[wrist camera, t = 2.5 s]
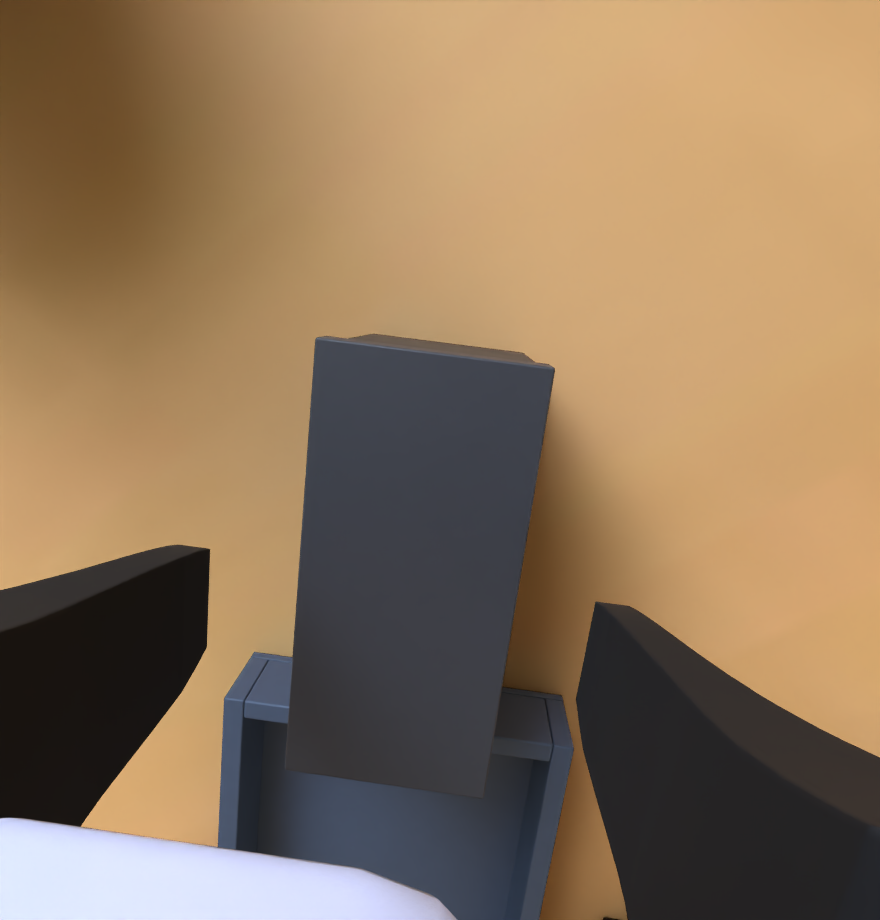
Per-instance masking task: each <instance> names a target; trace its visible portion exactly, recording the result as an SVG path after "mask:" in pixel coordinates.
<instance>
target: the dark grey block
mask: <svg viewBox="0 0 880 920" xmlns="http://www.w3.org/2000/svg"><path fill="white" fill-rule="evenodd" d="M554 373H555V369H554V368H553V367H552V366H550V365H549V364H543V363H535V362H534V361H533V360H531V359H530V358H529V357H528V356H526V355H525V354H524V353H520V352H512V351H504V350H496V349H488V348H481V347H473V346H465V345H457V344H449V343H441V342H433V341H426V340H418V339H410V338H402V337H394V336H386V335H378V334H370V335H364V336H359V337H353V338H348V339H347V338H339V337H331V336H323V337H317V338H316V339H315V352H314V366H313V380H312V394H311V408H310V422H309V436H308V450H307V464H306V478H305V491H304V505H303V519H302V533H301V547H300V561H299V575H298V589H297V603H296V617H295V631H294V645H293V659H292V673H291V687H290V700H289V714H288V728H287V742H286V756H285V770H289V771H295V772H302V773H309V774H316V775H323V776H330V777H336V778H343V779H350V780H357V781H364V782H371V783H377V784H384V785H391V786H398V787H405V788H412V789H419V790H425V791H432V792H439V793H446V794H453V795H460V796H466V797H473V798H480V799H482V798H483V797H484V793H485V787H486V781H487V775H488V769H489V763H490V757H491V751H492V745H493V739H494V733H495V727H496V721H497V715H498V709H499V703H500V697H501V691H502V685H503V679H504V673H505V667H506V661H507V655H508V649H509V643H510V637H511V631H512V625H513V619H514V613H515V607H516V601H517V595H518V589H519V583H520V577H521V571H522V565H523V559H524V553H525V547H526V541H527V535H528V529H529V523H530V517H531V511H532V505H533V499H534V493H535V487H536V481H537V475H538V469H539V463H540V457H541V451H542V445H543V439H544V433H545V427H546V421H547V415H548V409H549V403H550V397H551V391H552V385H553V379H554Z"/></svg>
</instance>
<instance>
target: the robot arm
mask: <svg viewBox="0 0 880 920" xmlns="http://www.w3.org/2000/svg"><path fill="white" fill-rule="evenodd" d="M209 563H210V549H206V548H199V547H191V546H184V545H171V546H165V547H160V548H156V549H152V550H148V551H144V552H140V553H137V554H133V555H129V556H126V557H122V558H119V559H116V560H112V561H109V562H105V563H102V564H98V565H95V566H92V567H88V568H85V569H81V570H78V571H74V572H70V573H66V574H63V575H59V576H55V577H51V578H47V579H44V580H40V581H36V582H32V583H28V584H24V585H21V586H17V587H12V588H8V589H4V590H0V920H457V919H456V918H455V917H454V916H453V915H452V913H451V912H450V911H449V910H448V909H447V908H446V907H445V906H444V905H443V904H442V903H441V902H440V901H439V899H437V898H436V897H434V896H432V895H430V894H428V893H426V892H423V891H420V890H418V889H415V888H412V887H410V886H407V885H404V884H402V883H399V882H396V881H394V880H391V879H388V878H386V877H383V876H380V875H378V874H375V873H372V872H370V871H367V870H364V869H362V868H356V867H349V866H342V865H336V864H329V863H322V862H315V861H309V860H302V859H295V858H288V857H282V856H275V855H268V854H261V853H254V852H248V851H241V850H234V849H227V848H221V847H214V846H207V845H200V844H193V843H187V842H180V841H173V840H166V839H160V838H153V837H146V836H139V835H133V834H126V833H119V832H112V831H105V830H99V829H92V828H85V827H81V825H82V823H83V822H84V820H85V819H86V818H87V816H88V815H89V813H90V812H91V811H92V809H93V808H94V806H95V805H96V803H97V802H98V801H99V799H100V798H101V796H102V795H103V794H104V793H105V791H106V790H107V789H108V787H109V786H110V785H111V783H112V782H113V781H114V780H115V778H116V777H117V776H118V774H119V773H120V772H121V771H122V769H123V768H124V767H125V765H126V764H127V763H128V762H129V760H130V759H131V758H132V756H133V755H134V754H135V753H136V751H137V750H138V749H139V747H140V746H141V745H142V744H143V742H144V741H145V740H146V738H147V737H148V736H149V734H150V733H151V732H152V731H153V729H154V728H155V727H156V725H157V724H158V723H159V721H160V720H161V719H162V718H163V716H164V715H165V714H166V712H167V711H168V710H169V708H170V707H171V706H172V704H173V703H174V702H175V700H176V699H177V698H178V696H179V695H180V694H181V692H182V691H183V689H184V687H185V685H186V684H187V682H188V680H189V679H190V677H191V675H192V673H193V672H194V670H195V668H196V666H197V664H198V663H199V661H200V659H201V657H202V655H203V653H204V651H205V650H206V648H207V623H208V593H209ZM576 703H577V711H578V719H579V727H580V733H581V740H582V746H583V751H584V755H585V759H586V763H587V766H588V770H589V773H590V777H591V780H592V784H593V788H594V791H595V795H596V798H597V802H598V805H599V809H600V812H601V816H602V819H603V823H604V826H605V830H606V833H607V837H608V840H609V844H610V847H611V850H612V854H613V857H614V861H615V864H616V868H617V872H618V876H619V880H620V884H621V888H622V892H623V896H624V901H625V906H626V911H627V917H628V920H880V757H877V756H875V755H873V754H871V753H869V752H867V751H864V750H862V749H860V748H858V747H856V746H854V745H852V744H849V743H847V742H845V741H843V740H841V739H839V738H837V737H835V736H833V735H831V734H829V733H827V732H825V731H823V730H821V729H819V728H817V727H815V726H814V725H812V724H810V723H808V722H806V721H805V720H803V719H801V718H799V717H797V716H796V715H794V714H792V713H790V712H788V711H786V710H785V709H783V708H781V707H779V706H777V705H776V704H774V703H772V702H771V701H769V700H767V699H766V698H764V697H762V696H761V695H759V694H757V693H756V692H754V691H753V690H751V689H750V688H748V687H747V686H745V685H744V684H742V683H740V682H739V681H737V680H736V679H734V678H733V677H731V676H730V675H728V674H727V673H725V672H724V671H722V670H721V669H719V668H718V667H716V666H715V665H713V664H712V663H710V662H709V661H708V660H706V659H705V658H703V657H702V656H701V655H699V654H698V653H696V652H695V651H694V650H692V649H691V648H689V647H688V646H687V645H685V644H684V643H683V642H681V641H680V640H679V639H677V638H676V637H674V636H673V635H672V634H670V633H669V632H668V631H666V630H665V629H663V628H662V627H661V626H659V625H658V624H657V623H655V622H654V621H652V620H651V619H650V618H648V617H647V616H645V615H644V614H642V613H641V612H639V611H637V610H636V609H634V608H632V607H630V606H625V605H617V604H610V603H603V602H595V607H594V612H593V617H592V622H591V627H590V632H589V637H588V642H587V647H586V652H585V657H584V662H583V667H582V672H581V677H580V682H579V687H578V692H577V697H576Z"/></svg>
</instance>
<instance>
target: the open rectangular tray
mask: <svg viewBox="0 0 880 920" xmlns="http://www.w3.org/2000/svg"><path fill="white" fill-rule="evenodd" d="M292 659H293V657H286V656H279V655H272V654H265V653H258V652H254V653H253V655H252V656H251V658H250V660H249V661H248V663H247V664H246V666H245V667H244V669H243V670H242V672H241V673H240V675H239V676H238V678H237V679H236V681H235V683H234V684H233V686H232V687H231V689H230V690H229V692H228V693H227V695H226V696H225V698H224V715H223V739H222V762H221V786H220V810H219V833H218V847H221V848H227V849H234V850H241V851H248V852H254V853H261V854H268V855H275V856H282V857H288V858H295V859H302V860H309V861H315V862H322V863H329V864H336V865H342V866H349V867H356V868H362V869H364V870H367V871H370V872H372V873H375V874H378V875H380V876H383V877H386V878H388V879H391V880H394V881H396V882H399V883H402V884H404V885H407V886H410V887H412V888H415V889H418V890H420V891H423V892H426V893H428V894H430V895H432V896H434V897H436V898H437V899H439V901H440V902H441V903H442V904H443V905H444V906H445V907H446V908H447V909H448V910H449V911H450V912H451V913H452V915H453V916H454V917H455V918H456V919H457V920H539V917H540V912H541V907H542V903H543V898H544V893H545V888H546V883H547V878H548V873H549V868H550V863H551V858H552V854H553V849H554V844H555V839H556V834H557V829H558V824H559V819H560V814H561V809H562V805H563V800H564V795H565V790H566V785H567V780H568V775H569V770H570V765H571V760H572V756H573V751H574V747H573V743H572V738H571V734H570V729H569V725H568V721H567V716H566V712H565V708H564V703H563V698H562V696H561V695H555V694H548V693H541V692H534V691H526V690H519V689H512V688H505V687H502V691H501V697H500V703H499V709H498V715H497V721H496V727H495V733H494V739H493V745H492V751H491V757H490V763H489V769H488V775H487V781H486V787H485V793H484V797H483V798H482V799H480V798H473V797H466V796H460V795H453V794H446V793H439V792H432V791H425V790H419V789H412V788H405V787H398V786H391V785H384V784H377V783H371V782H364V781H357V780H350V779H343V778H336V777H330V776H323V775H316V774H309V773H302V772H295V771H289V770H285V756H286V742H287V728H288V714H289V700H290V687H291V673H292Z"/></svg>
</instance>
